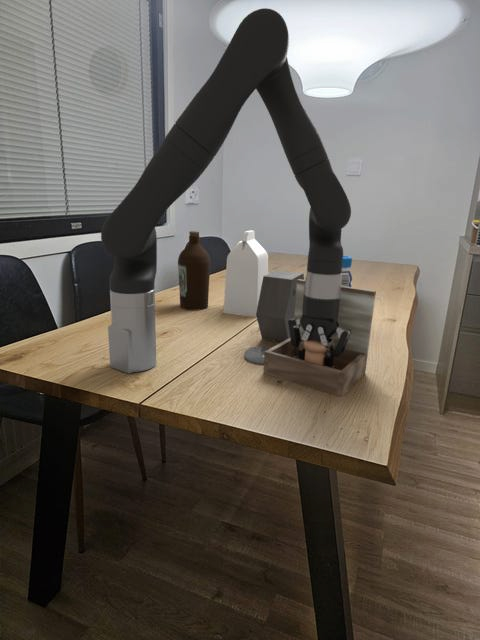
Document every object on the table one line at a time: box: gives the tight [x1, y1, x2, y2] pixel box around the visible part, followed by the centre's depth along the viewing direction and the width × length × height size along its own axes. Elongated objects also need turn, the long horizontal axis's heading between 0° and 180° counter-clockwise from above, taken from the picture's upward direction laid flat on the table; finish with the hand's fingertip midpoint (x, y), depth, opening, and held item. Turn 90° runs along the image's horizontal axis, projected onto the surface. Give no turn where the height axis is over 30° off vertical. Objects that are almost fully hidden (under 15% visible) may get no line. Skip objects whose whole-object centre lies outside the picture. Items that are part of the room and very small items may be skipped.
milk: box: [223, 230, 269, 318], centre depth 137 cm, size 12×12×26 cm
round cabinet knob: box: [303, 339, 331, 365], centre depth 92 cm, size 6×6×8 cm
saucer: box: [243, 346, 271, 365], centre depth 101 cm, size 9×9×1 cm
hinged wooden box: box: [262, 279, 377, 398], centre depth 90 cm, size 14×18×19 cm
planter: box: [255, 270, 305, 343], centre depth 114 cm, size 17×8×21 cm
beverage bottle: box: [341, 254, 353, 287], centre depth 131 cm, size 8×8×20 cm
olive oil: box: [177, 230, 211, 311], centre depth 139 cm, size 11×11×25 cm
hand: (314, 368), depth 93 cm, fingers closed on round cabinet knob, 4 cm apart
